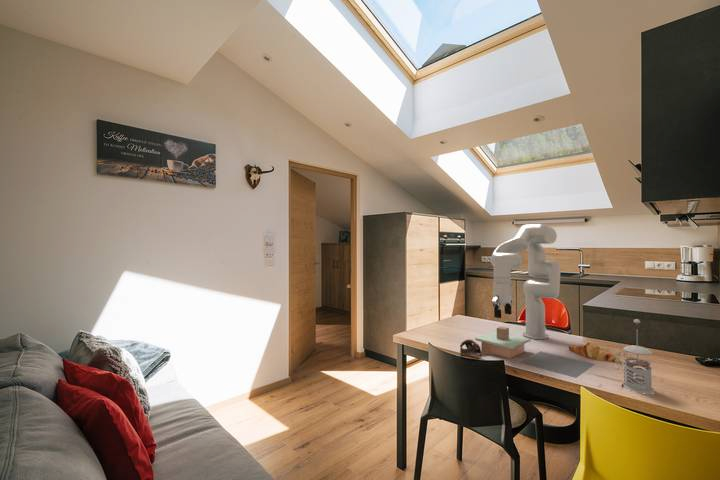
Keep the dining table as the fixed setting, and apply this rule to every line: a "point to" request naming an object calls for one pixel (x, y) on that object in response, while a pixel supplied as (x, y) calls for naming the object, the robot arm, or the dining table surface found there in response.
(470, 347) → the brown napkin holder
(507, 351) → the shallow wooden crate
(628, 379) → the french press
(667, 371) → the dining table surface
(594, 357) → the croissant
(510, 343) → the lid
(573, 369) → the mat
